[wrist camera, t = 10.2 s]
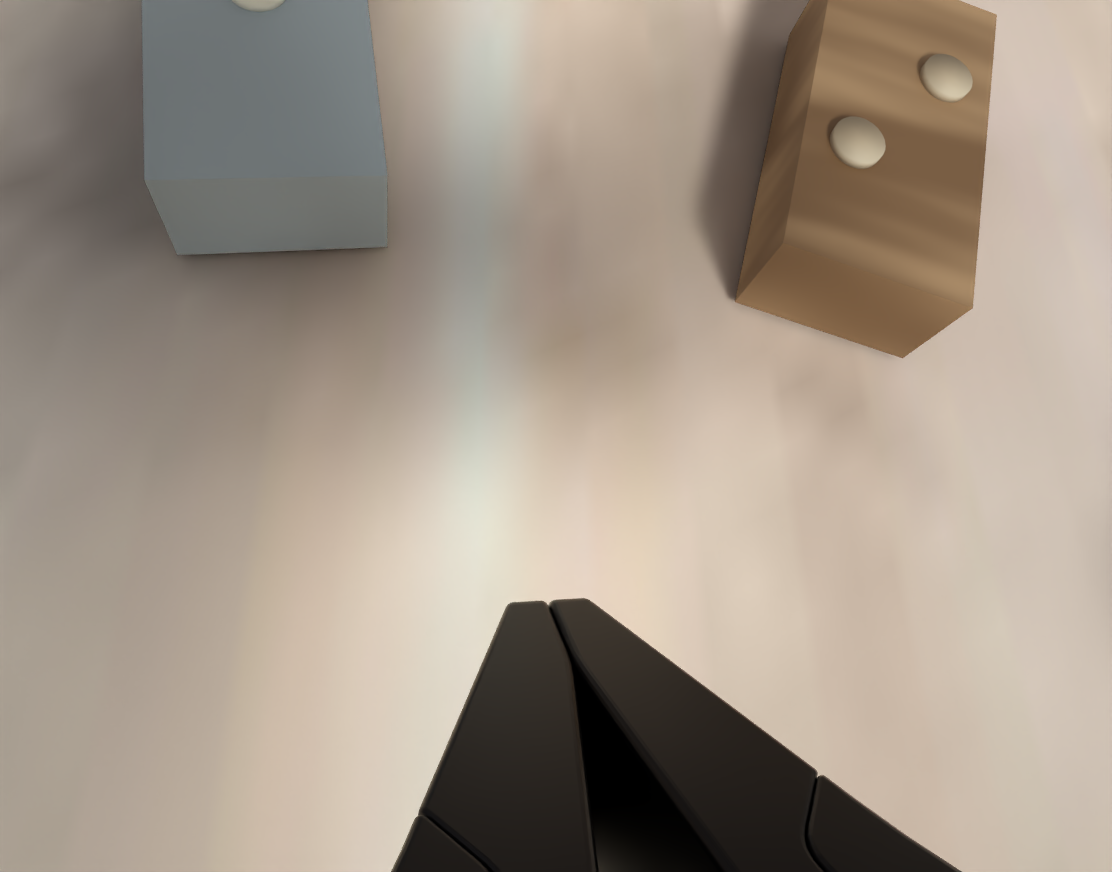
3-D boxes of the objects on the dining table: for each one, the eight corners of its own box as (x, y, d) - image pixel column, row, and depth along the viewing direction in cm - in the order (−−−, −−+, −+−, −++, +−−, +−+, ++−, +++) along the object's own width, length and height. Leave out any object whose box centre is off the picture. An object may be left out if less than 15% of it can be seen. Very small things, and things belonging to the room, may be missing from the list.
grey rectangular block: (387, 168, 18) (349, -166, 21) (141, 172, 17) (136, -181, 20) (387, 251, 22) (354, -48, 25) (179, 260, 21) (170, -55, 23)
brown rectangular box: (979, 303, 20) (1002, 7, 24) (788, 237, 20) (841, -54, 23) (897, 361, 24) (928, 93, 27) (731, 305, 23) (785, 41, 27)
